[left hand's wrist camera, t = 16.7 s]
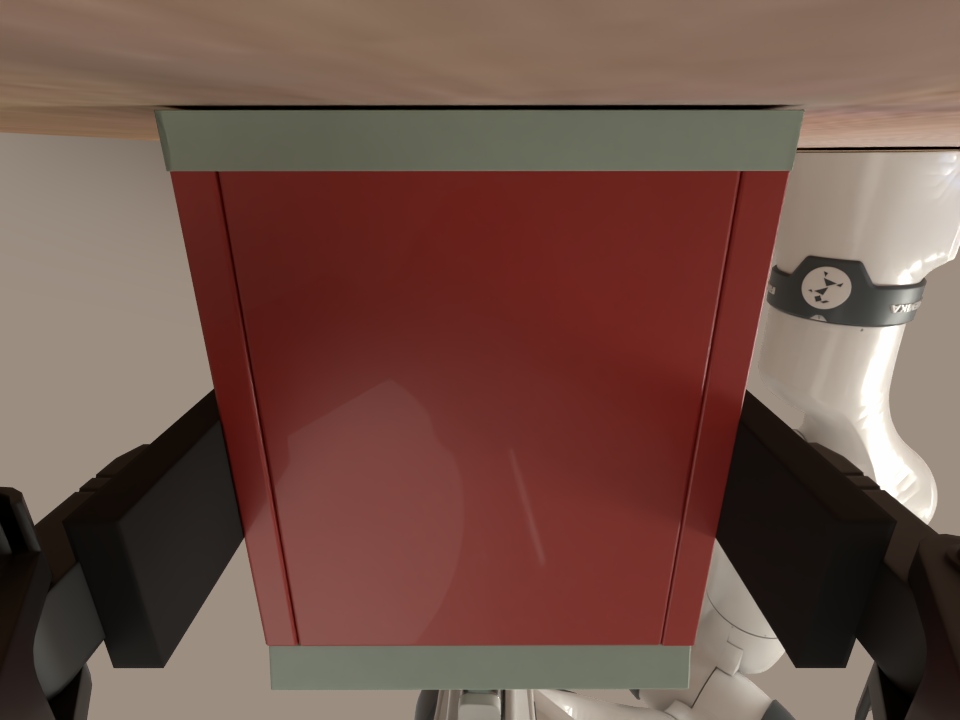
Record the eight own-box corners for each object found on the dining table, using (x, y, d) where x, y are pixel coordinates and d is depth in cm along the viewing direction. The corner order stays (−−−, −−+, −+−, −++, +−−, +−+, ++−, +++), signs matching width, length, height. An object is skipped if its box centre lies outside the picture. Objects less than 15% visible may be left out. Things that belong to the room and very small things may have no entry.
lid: (575, 457, 26) (572, 624, 27) (383, 458, 26) (386, 625, 27) (691, 643, 12) (676, 982, 13) (267, 644, 12) (284, 983, 13)
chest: (603, 138, 20) (583, 394, 24) (354, 138, 20) (375, 394, 24) (805, 109, 8) (695, 647, 12) (153, 109, 8) (264, 648, 12)
